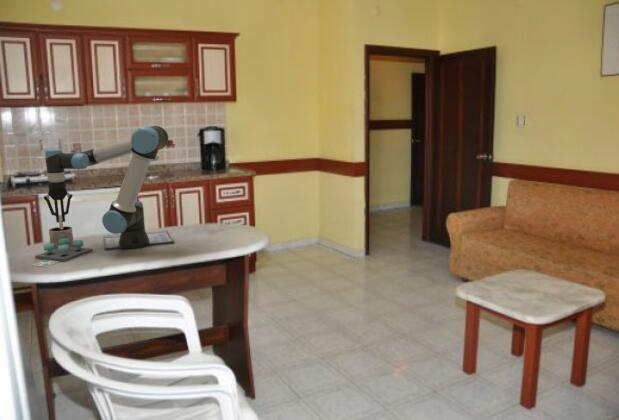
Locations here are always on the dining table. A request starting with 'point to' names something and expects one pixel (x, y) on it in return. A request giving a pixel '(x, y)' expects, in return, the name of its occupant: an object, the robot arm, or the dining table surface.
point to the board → (64, 257)
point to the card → (45, 263)
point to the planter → (61, 235)
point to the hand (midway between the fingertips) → (61, 228)
